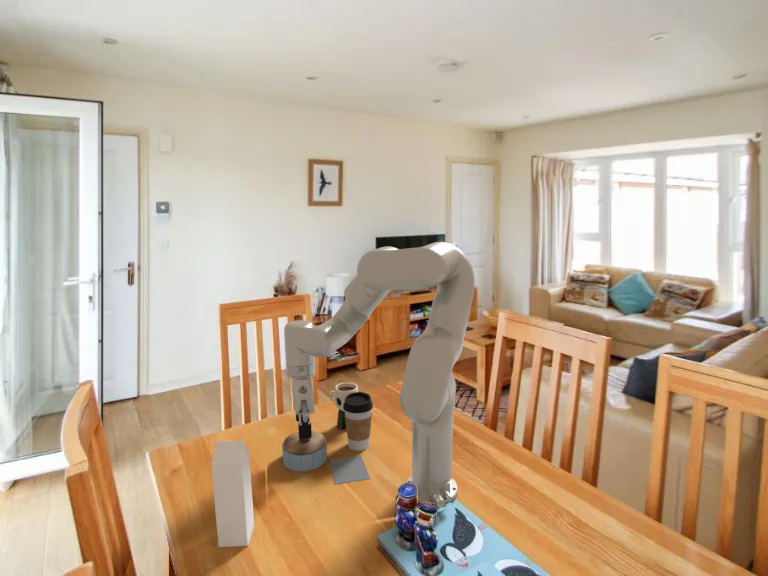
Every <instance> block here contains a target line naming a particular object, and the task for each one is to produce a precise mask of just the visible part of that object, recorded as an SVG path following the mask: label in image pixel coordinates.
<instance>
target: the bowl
mask: <svg viewBox="0 0 768 576" xmlns="http://www.w3.org/2000/svg"><path fill="white" fill-rule="evenodd" d="M281 448H282V449H281V450H282V453H281V454H282V462H283V463H282V465H283V466H284V467H285V469H286V468H287V469H288V470H290V471H294V472H308V471H313V470H315V469H318V468H320V467H322V465H324V464H325V463H326V462H327V458H328V446H327V440H326V439H325V444H324V446H323V447H322V448H321V449H320V450H319V451H317V452H314V453H311V454H306V455H296V454H292V453H289V452H287V451H286V450H285V448H284V441H283V442H282V443H281Z"/></svg>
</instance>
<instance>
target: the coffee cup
mask: <svg viewBox="0 0 768 576" xmlns="http://www.w3.org/2000/svg"><path fill="white" fill-rule="evenodd" d="M343 409H344V410H345V423H346V429H345V430H346V436H347V445H348V448H349V449H350V450H352V451H356V452H361V451H365V450H367V449H368V448H369V447H370V442H371V441H370V440H371V439H370V438H371V430H372V429H371V428H372V419H373V414H372V409H374V404H373V402H372V396H371V395H370V394H368V393H367V392H362V391H358V392H354V393H351V394H349V395H347V396H346V398H345V402H344V404H343Z"/></svg>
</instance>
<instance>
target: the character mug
mask: <svg viewBox="0 0 768 576" xmlns="http://www.w3.org/2000/svg"><path fill="white" fill-rule="evenodd" d="M354 392H359V387H358V384H356V383H354V382H340V383H338V384H336V385H335V386H334V390H330V391H329V400H330V401H331V402H334V405H335V407H336V408H337V409H338V412H337V419H336V420H337V422H336V426H337V427H338V428H339V429H343V427H344V428H345V430H346V423H345V410H344V409H343V404H344V402H345V398H346V396H347V395H349V394H351V393H354Z"/></svg>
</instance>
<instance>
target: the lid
mask: <svg viewBox="0 0 768 576" xmlns="http://www.w3.org/2000/svg"><path fill="white" fill-rule="evenodd" d="M298 424H299V422H298ZM298 424H297V425H298ZM311 432H312V437H311V438H306V439H299V431H296V432H293V433H290V434H289V435H288V436H286V437H285V439H284V441H283V442H284V448H285V450H286V451H287V452H289V453H292V454H296V455H306V454H311V453H314V452H317V451H319V450H320V449H321V448H322V447H323V446H324V444H325V440H326V437H325V435H324V434H322V433H321V432H319V431H316V430H311Z"/></svg>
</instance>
